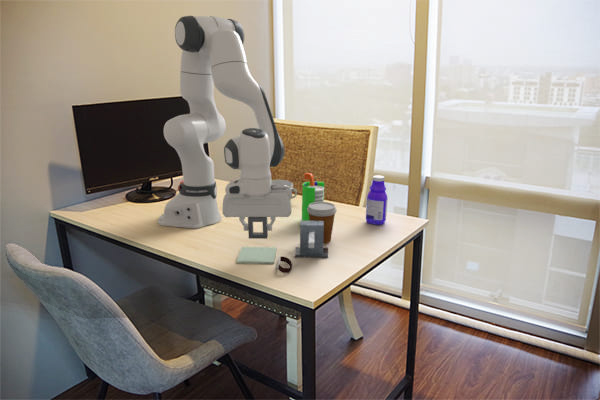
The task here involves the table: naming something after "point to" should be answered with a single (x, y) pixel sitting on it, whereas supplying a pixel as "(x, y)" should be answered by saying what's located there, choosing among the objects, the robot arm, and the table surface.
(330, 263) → the table surface
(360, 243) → the table surface
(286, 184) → the teacup
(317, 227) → the hook stand
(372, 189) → the bottle
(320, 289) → the table surface
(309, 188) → the green-shelled ribbed roller
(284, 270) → the watch
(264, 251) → the mat
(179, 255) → the table surface
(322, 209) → the disposable coffee cup
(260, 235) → the link
